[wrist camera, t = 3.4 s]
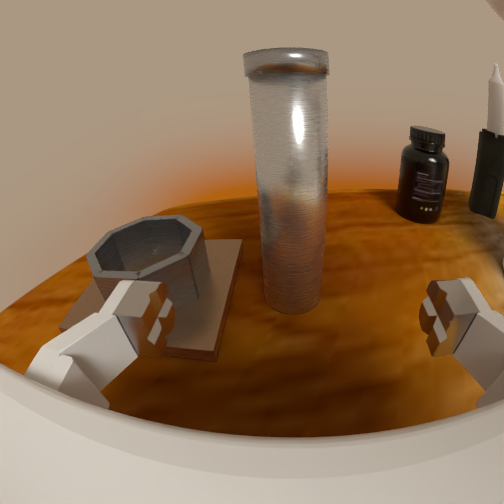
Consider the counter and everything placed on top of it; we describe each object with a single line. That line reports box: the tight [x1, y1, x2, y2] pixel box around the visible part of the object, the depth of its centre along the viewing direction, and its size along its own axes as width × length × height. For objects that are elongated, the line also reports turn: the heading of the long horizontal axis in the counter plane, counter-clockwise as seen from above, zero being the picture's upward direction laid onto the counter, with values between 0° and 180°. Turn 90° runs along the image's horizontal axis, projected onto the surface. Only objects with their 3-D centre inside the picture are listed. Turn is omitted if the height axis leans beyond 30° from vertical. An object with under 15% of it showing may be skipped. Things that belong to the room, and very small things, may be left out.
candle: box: [469, 64, 504, 218], centre depth 28 cm, size 5×5×25 cm
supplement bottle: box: [396, 126, 449, 224], centre depth 31 cm, size 7×7×12 cm
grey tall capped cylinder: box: [243, 48, 329, 314], centre depth 18 cm, size 5×5×18 cm
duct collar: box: [59, 215, 243, 361], centre depth 23 cm, size 14×14×5 cm
